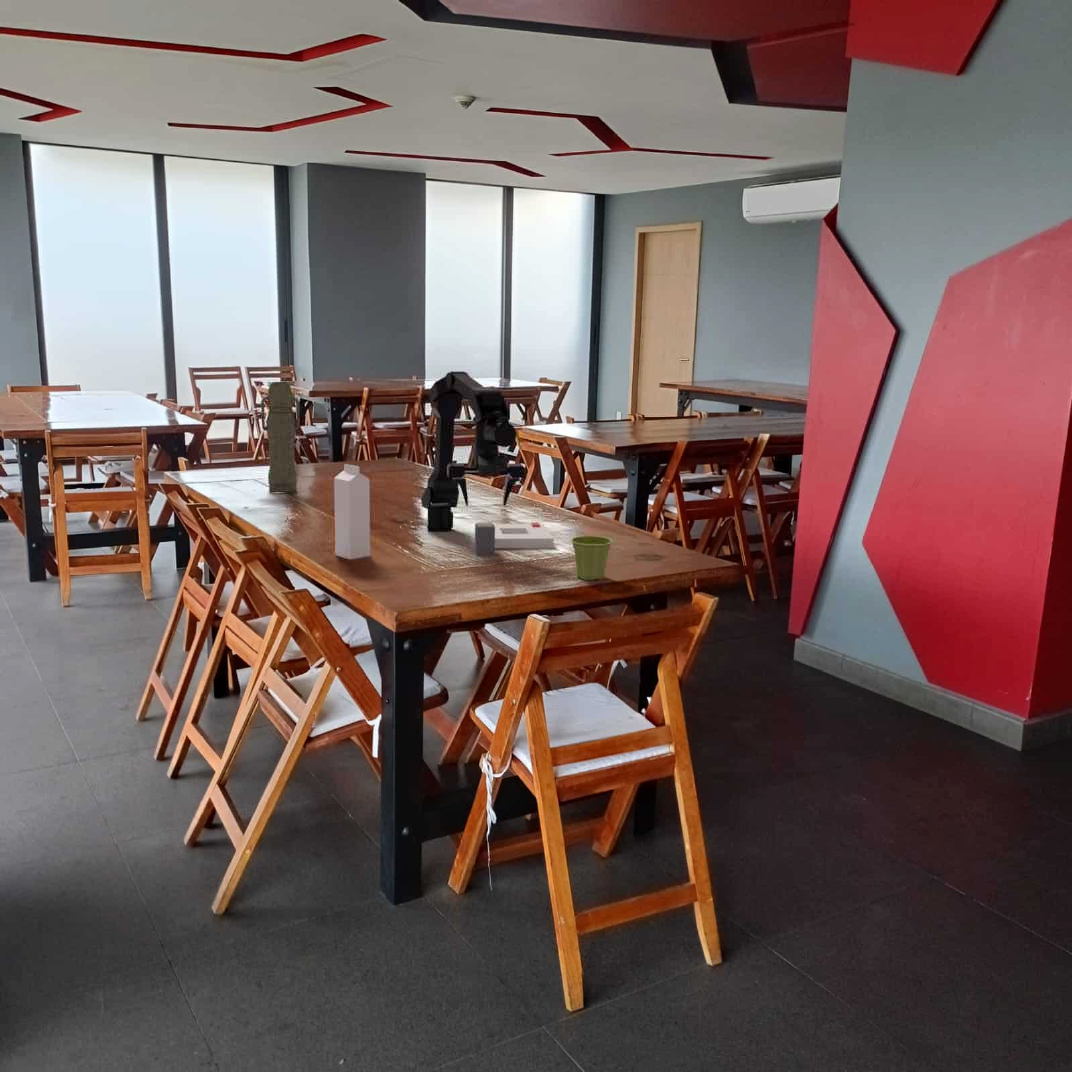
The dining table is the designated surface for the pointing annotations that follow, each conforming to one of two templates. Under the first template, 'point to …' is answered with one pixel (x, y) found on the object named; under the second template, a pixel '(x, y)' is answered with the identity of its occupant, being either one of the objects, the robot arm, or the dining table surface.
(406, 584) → the dining table surface
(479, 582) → the dining table surface
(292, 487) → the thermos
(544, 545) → the socket plate
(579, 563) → the plant pot
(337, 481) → the milk
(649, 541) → the dining table surface
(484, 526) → the plug
